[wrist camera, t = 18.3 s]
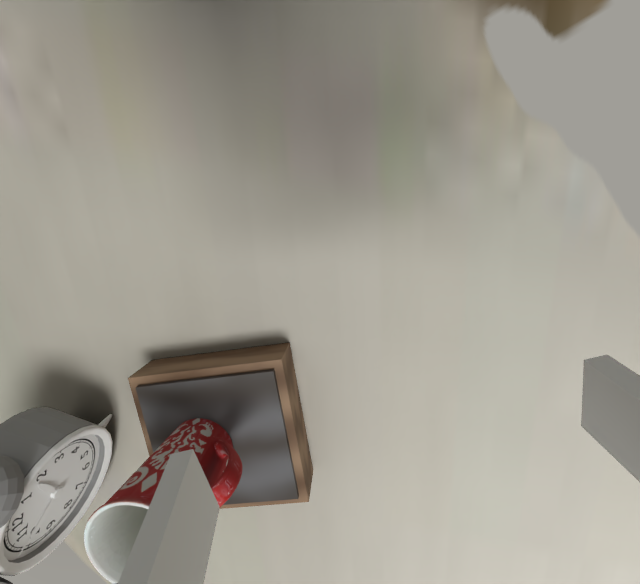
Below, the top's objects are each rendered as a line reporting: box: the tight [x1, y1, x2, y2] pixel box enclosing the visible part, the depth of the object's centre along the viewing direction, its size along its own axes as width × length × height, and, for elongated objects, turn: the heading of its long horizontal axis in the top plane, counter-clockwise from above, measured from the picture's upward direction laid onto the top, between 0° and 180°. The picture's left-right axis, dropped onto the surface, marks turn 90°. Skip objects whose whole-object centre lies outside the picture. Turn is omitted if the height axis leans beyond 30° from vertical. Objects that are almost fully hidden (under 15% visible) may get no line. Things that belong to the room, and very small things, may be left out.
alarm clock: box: [0, 407, 113, 584], centre depth 40 cm, size 16×9×22 cm, turn 164°
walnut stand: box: [128, 343, 313, 509], centre depth 45 cm, size 18×18×6 cm
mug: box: [84, 418, 242, 584], centre depth 36 cm, size 13×9×14 cm
